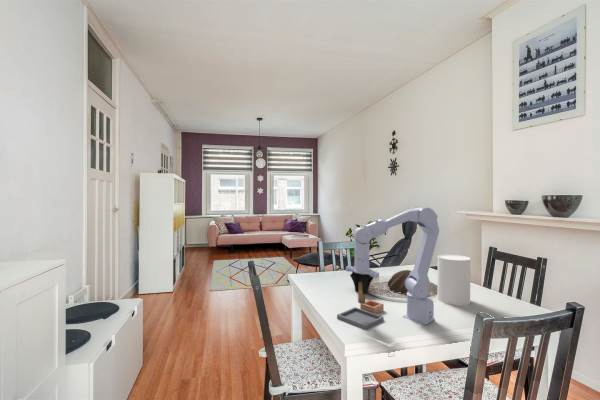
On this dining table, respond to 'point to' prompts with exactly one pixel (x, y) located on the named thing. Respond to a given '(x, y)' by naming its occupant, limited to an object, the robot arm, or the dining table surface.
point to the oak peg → (360, 293)
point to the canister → (453, 279)
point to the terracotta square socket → (372, 306)
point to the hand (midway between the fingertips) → (361, 292)
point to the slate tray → (360, 318)
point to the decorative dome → (399, 281)
